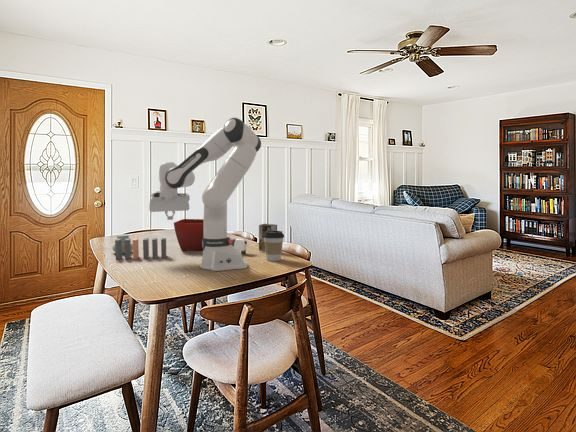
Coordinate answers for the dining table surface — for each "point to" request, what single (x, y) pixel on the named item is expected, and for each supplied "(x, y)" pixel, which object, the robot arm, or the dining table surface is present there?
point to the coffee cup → (273, 244)
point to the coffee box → (262, 231)
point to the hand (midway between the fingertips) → (170, 219)
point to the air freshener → (123, 242)
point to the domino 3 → (135, 248)
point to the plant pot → (189, 233)
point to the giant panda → (239, 245)
